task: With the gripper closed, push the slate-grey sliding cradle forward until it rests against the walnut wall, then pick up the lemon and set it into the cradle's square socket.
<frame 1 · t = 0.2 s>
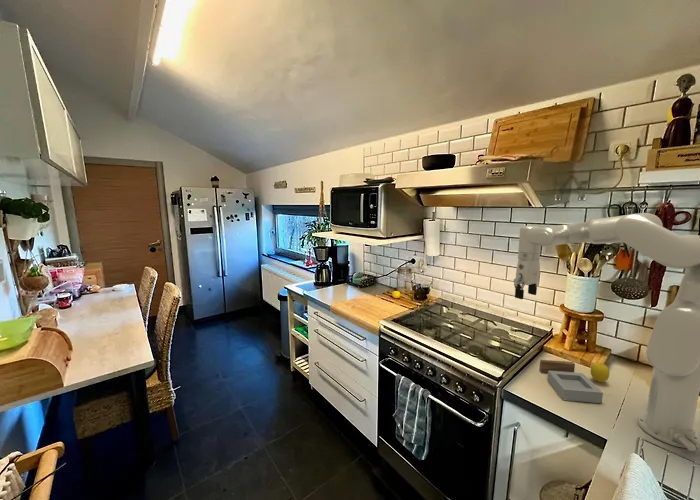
hand: (525, 296, 122), 31 cm above the worktop, tool pointing down, fingers open, 9 cm apart
lemon: (598, 382, 114), on the worktop
cradle: (573, 385, 108), point 2 cm above the worktop, slide at 5.0 cm
wall: (556, 373, 120), on the worktop
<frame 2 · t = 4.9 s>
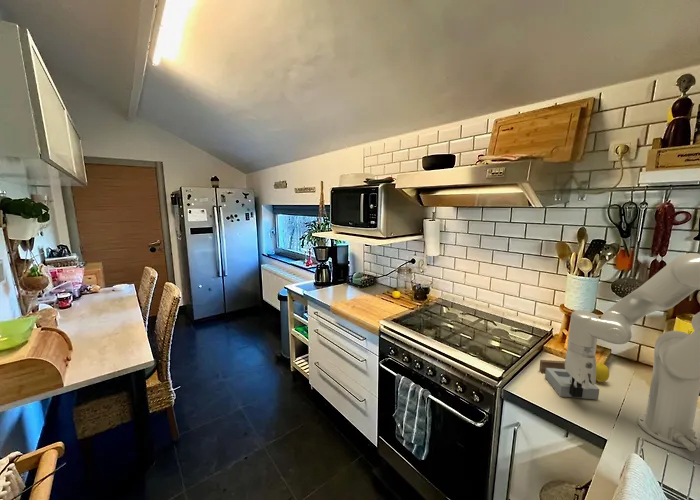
hand: (575, 395, 103), 2 cm above the worktop, tool pointing down, fingers closed
cradle: (570, 382, 110), point 2 cm above the worktop, slide at 3.0 cm, touching gripper
everything else where it was.
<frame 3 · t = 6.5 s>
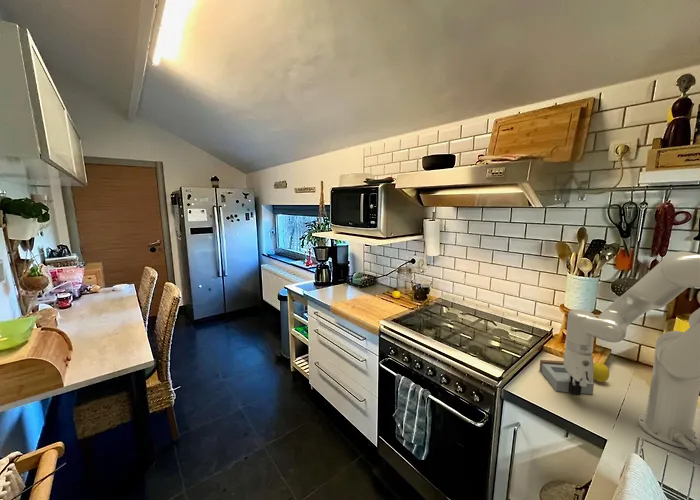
hand: (574, 393, 104), 2 cm above the worktop, tool pointing down, fingers closed
cradle: (566, 378, 113), point 2 cm above the worktop, slide at 0.0 cm
everything else where it was.
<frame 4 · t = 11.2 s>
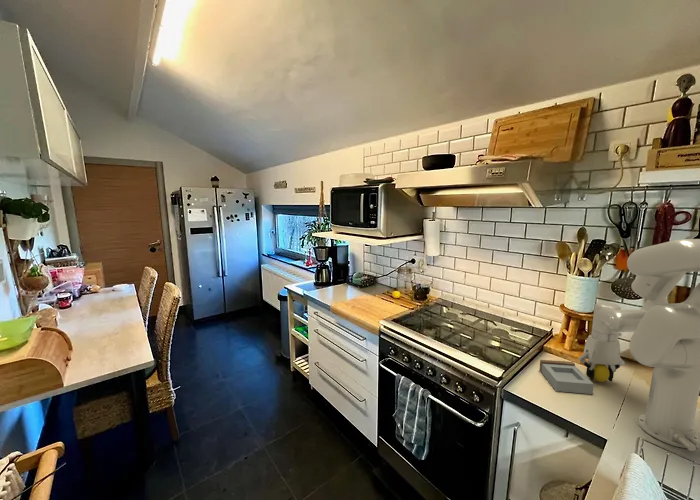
hand: (599, 378, 114), 2 cm above the worktop, tool pointing down, fingers closed on lemon, 5 cm apart
lemon: (598, 382, 114), on the worktop, touching gripper
everything else where it was.
when the fingers open (5 cm above the worktop, at t = 16.4 s): lemon drops 1 cm, resting on cradle.
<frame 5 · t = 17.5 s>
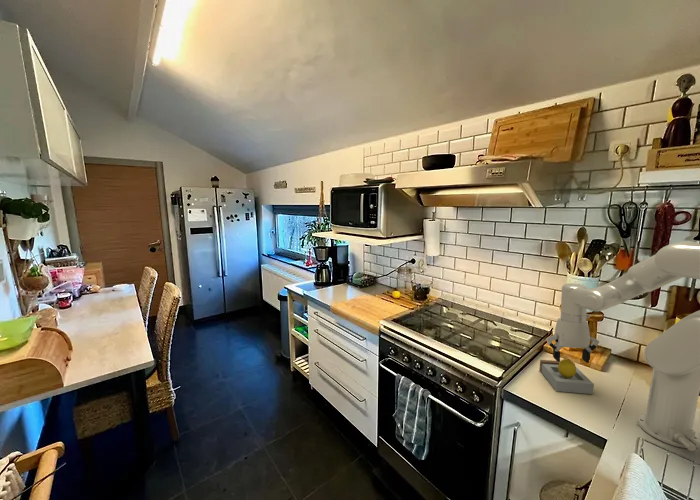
hand: (571, 360, 111), 10 cm above the worktop, tool pointing down, fingers open, 9 cm apart
lemon: (565, 378, 113), point 2 cm above the worktop, touching cradle
cradle: (566, 378, 113), point 2 cm above the worktop, slide at 0.0 cm, touching lemon
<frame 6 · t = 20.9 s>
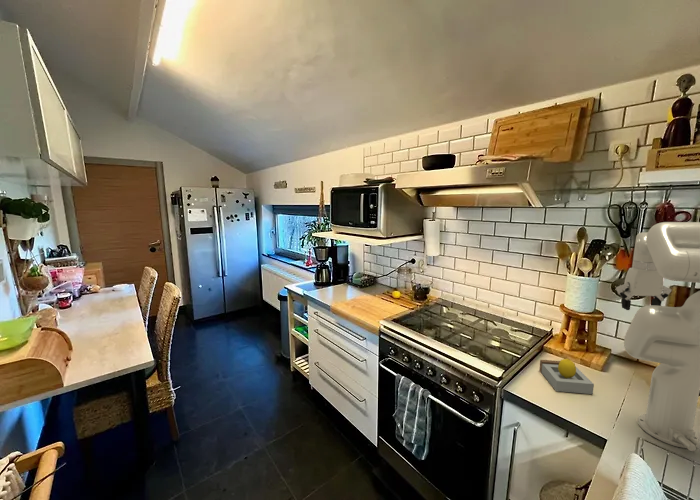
hand: (640, 309, 112), 28 cm above the worktop, tool pointing down, fingers open, 9 cm apart
nothing on the worktop moved.
at the end: cradle slide at 0.0 cm; lemon 0.1 cm off-centre on the cradle, point 2.1 cm above the cradle's base; the gripper is holding nothing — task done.
